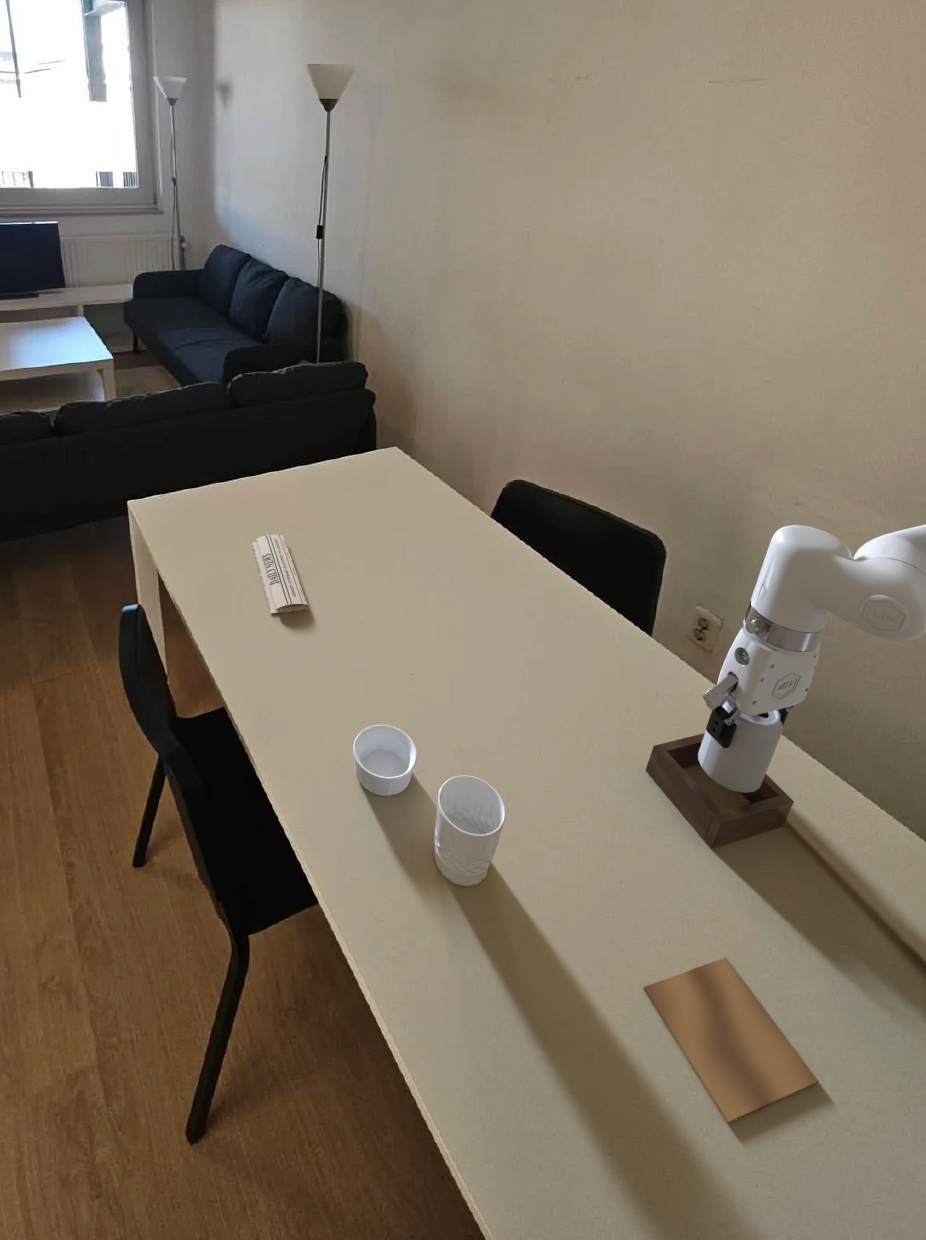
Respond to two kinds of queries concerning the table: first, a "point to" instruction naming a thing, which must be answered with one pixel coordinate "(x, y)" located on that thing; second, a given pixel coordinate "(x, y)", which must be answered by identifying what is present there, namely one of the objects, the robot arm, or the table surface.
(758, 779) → the can
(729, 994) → the coaster
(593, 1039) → the table surface
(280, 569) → the newspaper
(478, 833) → the white cup
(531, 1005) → the table surface
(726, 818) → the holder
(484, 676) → the table surface
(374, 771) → the ramekin
